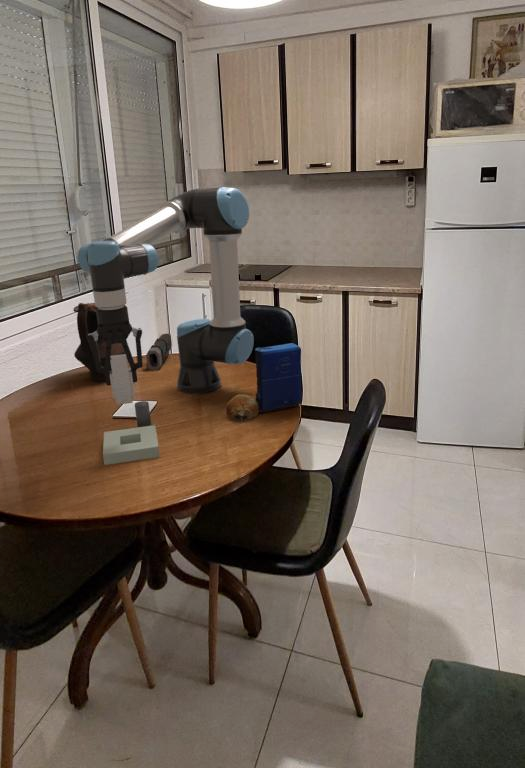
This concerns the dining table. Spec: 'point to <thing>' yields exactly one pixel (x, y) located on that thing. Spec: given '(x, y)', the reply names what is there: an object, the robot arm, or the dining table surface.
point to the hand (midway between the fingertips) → (123, 395)
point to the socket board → (130, 445)
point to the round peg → (142, 414)
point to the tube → (159, 352)
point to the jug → (84, 351)
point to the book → (278, 377)
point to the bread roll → (242, 408)
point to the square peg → (121, 379)
